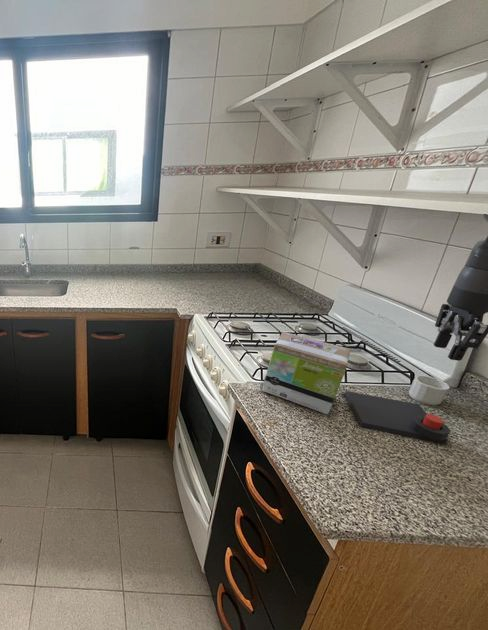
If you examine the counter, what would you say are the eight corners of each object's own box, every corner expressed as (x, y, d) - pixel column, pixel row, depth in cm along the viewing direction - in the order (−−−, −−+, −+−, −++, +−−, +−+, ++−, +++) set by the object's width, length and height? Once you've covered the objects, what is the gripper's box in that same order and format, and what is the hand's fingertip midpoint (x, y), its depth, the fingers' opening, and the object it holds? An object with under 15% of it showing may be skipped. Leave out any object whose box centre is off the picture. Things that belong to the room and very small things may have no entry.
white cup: (433, 394, 90) (441, 378, 88) (446, 408, 85) (455, 391, 83) (403, 389, 93) (410, 373, 91) (414, 402, 87) (422, 386, 85)
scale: (418, 408, 85) (423, 398, 84) (450, 447, 74) (456, 436, 72) (344, 394, 91) (347, 385, 90) (362, 428, 79) (366, 418, 78)
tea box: (260, 392, 92) (273, 343, 86) (269, 376, 99) (281, 329, 93) (329, 416, 83) (348, 363, 77) (333, 396, 90) (351, 346, 84)
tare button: (435, 423, 77) (439, 416, 76) (442, 431, 74) (446, 424, 73) (419, 420, 78) (423, 412, 77) (425, 428, 75) (429, 420, 74)
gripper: (526, 300, 69) (486, 371, 76) (480, 279, 81) (450, 342, 88) (476, 295, 72) (442, 364, 79) (439, 276, 84) (412, 337, 91)
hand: (446, 352), depth 83 cm, fingers open, 6 cm apart
